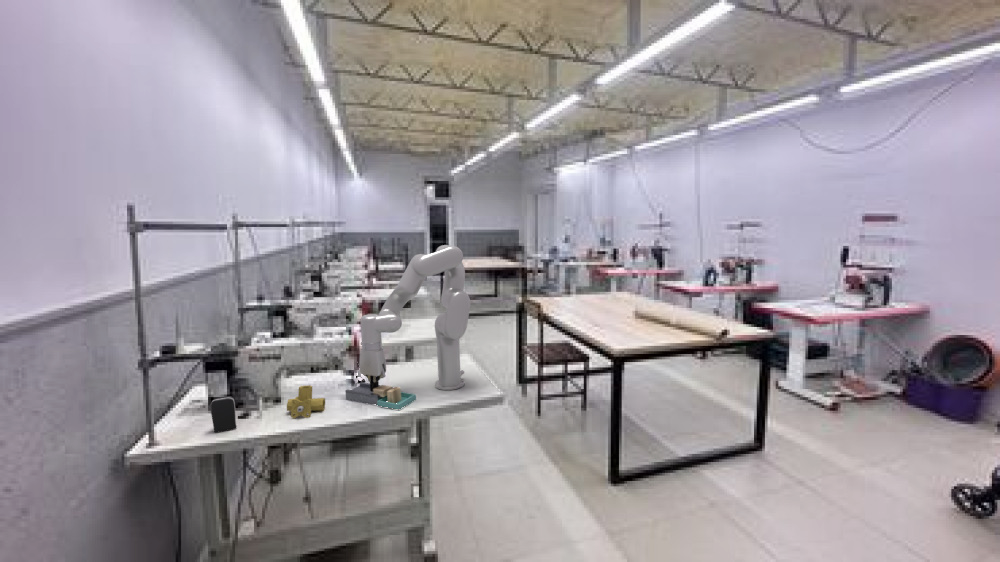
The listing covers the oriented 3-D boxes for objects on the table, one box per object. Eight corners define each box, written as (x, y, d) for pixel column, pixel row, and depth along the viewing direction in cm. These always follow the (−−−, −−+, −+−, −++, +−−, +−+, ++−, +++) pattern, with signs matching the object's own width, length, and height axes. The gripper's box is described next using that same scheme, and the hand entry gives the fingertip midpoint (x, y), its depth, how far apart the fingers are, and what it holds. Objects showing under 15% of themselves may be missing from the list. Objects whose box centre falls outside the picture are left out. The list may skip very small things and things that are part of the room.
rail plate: (362, 391, 185) (361, 382, 184) (393, 396, 178) (392, 387, 178) (346, 399, 176) (345, 390, 176) (378, 405, 170) (377, 395, 169)
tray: (395, 396, 179) (395, 390, 178) (416, 399, 175) (415, 394, 174) (377, 406, 169) (377, 401, 168) (399, 410, 165) (398, 404, 164)
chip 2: (395, 387, 174) (400, 387, 173) (396, 399, 174) (401, 399, 173) (386, 391, 169) (391, 392, 168) (388, 403, 170) (393, 404, 169)
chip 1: (382, 390, 177) (382, 384, 176) (392, 392, 174) (391, 386, 174) (373, 395, 172) (373, 389, 172) (383, 397, 170) (383, 391, 170)
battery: (238, 424, 156) (234, 393, 154) (236, 429, 152) (233, 397, 151) (214, 429, 153) (211, 397, 151) (213, 433, 149) (209, 401, 148)
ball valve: (290, 412, 167) (281, 420, 158) (291, 385, 168) (282, 391, 158) (325, 411, 169) (319, 419, 160) (326, 384, 170) (319, 390, 160)
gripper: (350, 346, 173) (353, 391, 175) (380, 350, 167) (383, 396, 169) (363, 341, 180) (366, 385, 182) (393, 345, 173) (395, 389, 176)
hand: (374, 390), depth 175 cm, fingers closed
